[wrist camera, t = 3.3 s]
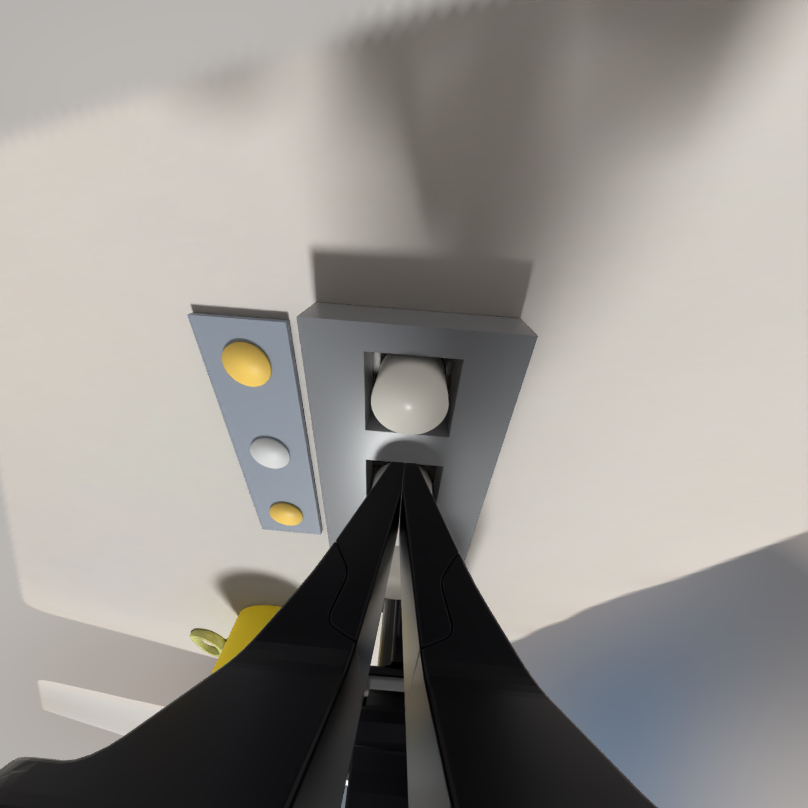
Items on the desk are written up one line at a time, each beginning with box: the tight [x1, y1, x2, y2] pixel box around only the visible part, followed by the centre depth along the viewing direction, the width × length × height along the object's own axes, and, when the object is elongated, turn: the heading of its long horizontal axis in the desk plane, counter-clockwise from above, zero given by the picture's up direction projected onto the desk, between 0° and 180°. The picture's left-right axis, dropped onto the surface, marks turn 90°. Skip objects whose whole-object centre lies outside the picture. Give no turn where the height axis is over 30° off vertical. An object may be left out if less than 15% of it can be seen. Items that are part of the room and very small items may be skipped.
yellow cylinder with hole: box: [211, 605, 281, 674], centre depth 32 cm, size 10×10×9 cm
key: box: [190, 630, 226, 657], centre depth 40 cm, size 7×12×2 cm, turn 104°
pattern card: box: [188, 313, 322, 535], centre depth 19 cm, size 18×5×1 cm, turn 176°
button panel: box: [297, 302, 538, 561], centre depth 18 cm, size 20×10×2 cm, turn 176°
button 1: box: [371, 353, 449, 435], centre depth 14 cm, size 4×4×3 cm
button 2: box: [384, 546, 401, 600], centre depth 20 cm, size 4×4×3 cm
